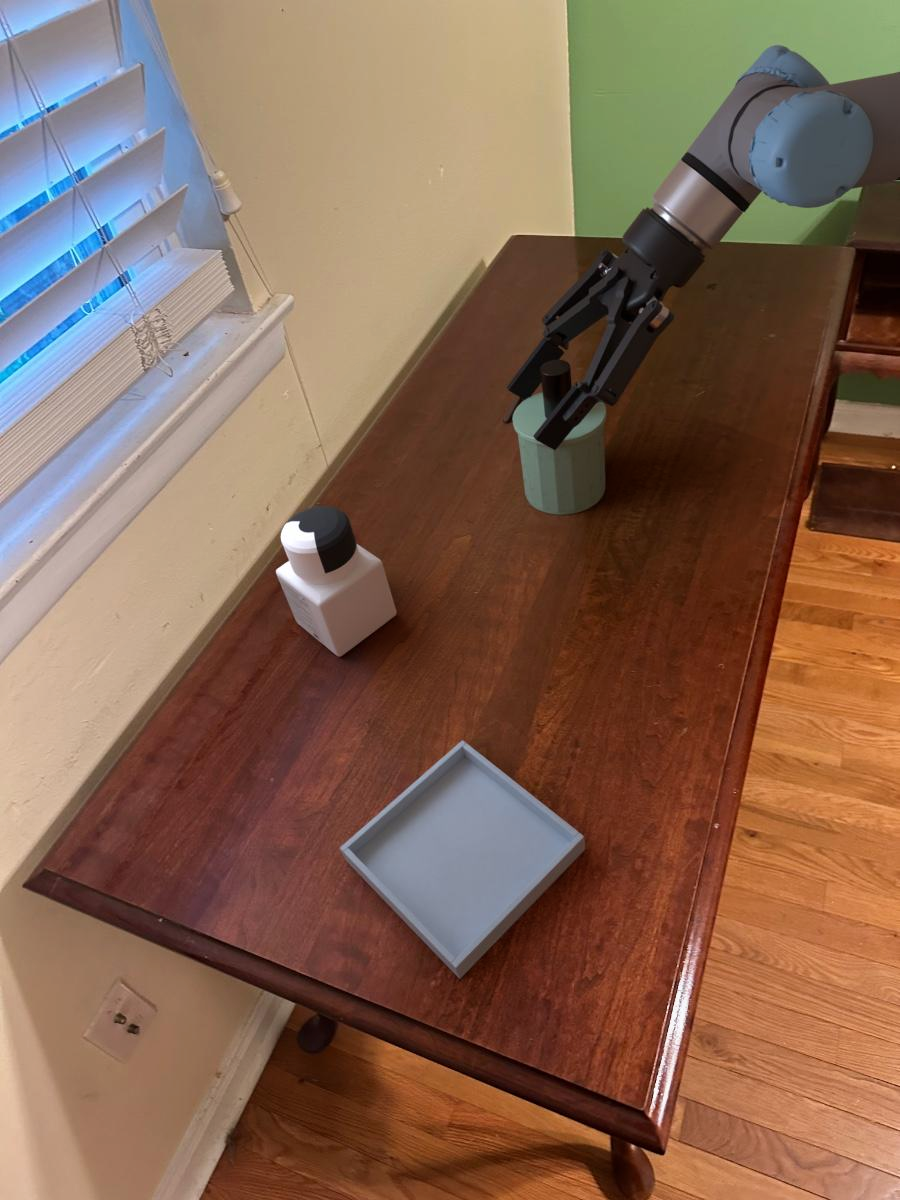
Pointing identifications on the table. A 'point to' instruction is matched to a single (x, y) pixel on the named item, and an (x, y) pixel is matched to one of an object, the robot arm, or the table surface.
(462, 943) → the tray
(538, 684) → the table surface
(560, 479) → the faceted green cup
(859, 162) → the robot arm
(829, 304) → the table surface
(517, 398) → the rod
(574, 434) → the lid
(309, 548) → the container
